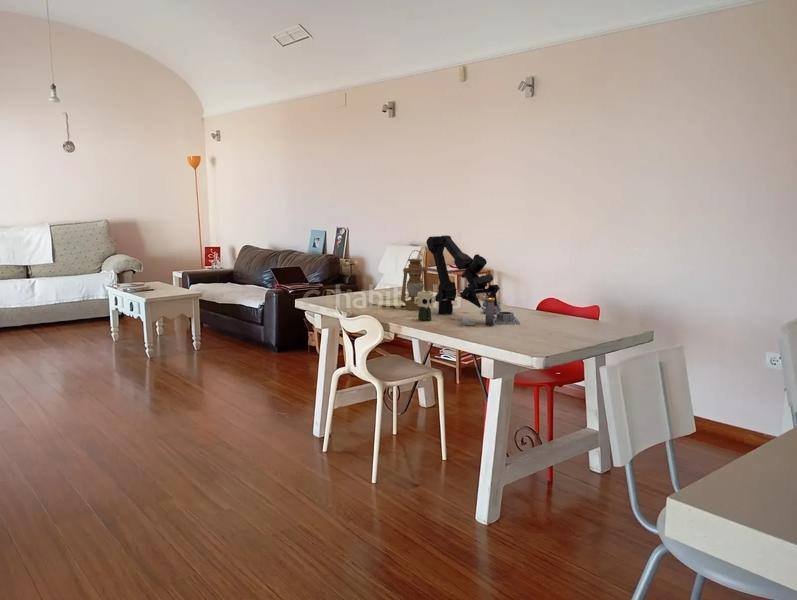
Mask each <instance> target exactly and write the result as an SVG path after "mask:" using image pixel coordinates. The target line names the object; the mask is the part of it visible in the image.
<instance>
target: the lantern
mask: <svg viewBox="0 0 797 600" xmlns="http://www.w3.org/2000/svg"><path fill="white" fill-rule="evenodd" d="M413 252H418V253H419V254H420V255H421V256H422V258H423V259H422V258H411V256H412V254H413ZM408 262H409V264H408ZM421 262H423V263H424V265H425V266H423V264H422V263H421ZM407 264H408V266H407ZM406 266H407V267H406ZM402 270H403V277H402V278H403V279H402V287H401V295H400V300H401V301H400V302H402V303H404V309H405V310H407V311H419V309H420V306H418V305H417V304H415V303H414V298H415V297H417V293H418V292H430V290H429V279H428V270H429V267H427V264H426V262H425V258H424V256H423V254H422V252H421V251H420V250H412V251H411V253H410V255H409V257H408V258H407V261H406V264H405V266H404V268H403V269H402ZM422 274H423V278H424V279H423V280H424V281H423V280H422V279H421V278H422ZM408 277H409V278H408ZM407 279H408V280H407ZM406 290H407V294H406ZM423 290H424V291H423ZM406 296H407V297H408V298H410V299H408V300H406V299H405V298H406ZM416 302H417V299H416Z"/></svg>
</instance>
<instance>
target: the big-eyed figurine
mask: <svg viewBox="0 0 797 600" xmlns="http://www.w3.org/2000/svg"><path fill="white" fill-rule="evenodd" d="M435 296H436V295H434V294H433V292H432V291H429V292H425V291H422V292H418V293H417V297H415V298H414V303H415V304H417V305H418V306H420V309H419V310H418V315H417V316H418V317H417V319H418V320H420V321H428V320H432V311H431V307H432V306H433V303H436V301H435ZM416 299H417V302H416Z"/></svg>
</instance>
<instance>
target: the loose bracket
mask: <svg viewBox="0 0 797 600" xmlns="http://www.w3.org/2000/svg"><path fill="white" fill-rule="evenodd" d="M461 324H463V325H474V326H475V320H474V319H467V317H466V316H462V317H461ZM463 325H462V326H463Z"/></svg>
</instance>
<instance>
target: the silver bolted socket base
mask: <svg viewBox="0 0 797 600" xmlns="http://www.w3.org/2000/svg"><path fill="white" fill-rule="evenodd" d="M520 324H521V321H520V320H519V319H518V318H517V316H515V314H514V312H511V311H500V312H496V314H495V315H494V324H493V325H520Z"/></svg>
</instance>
